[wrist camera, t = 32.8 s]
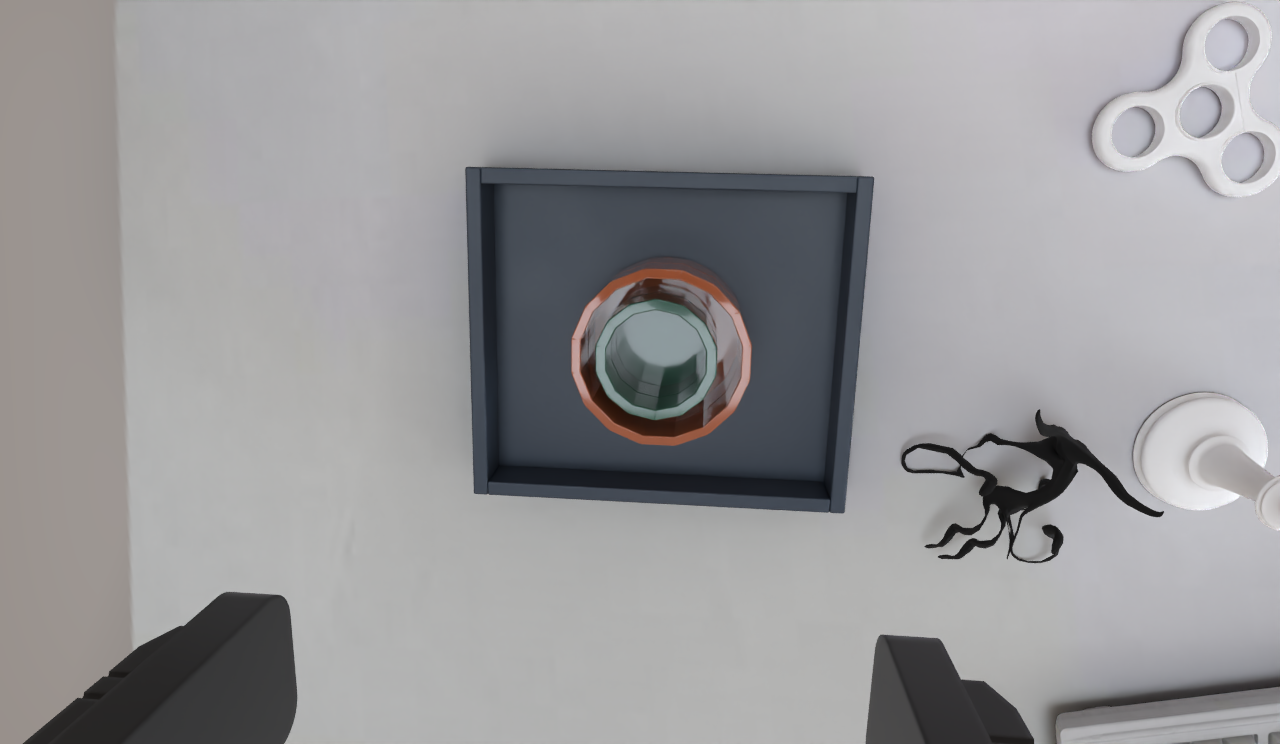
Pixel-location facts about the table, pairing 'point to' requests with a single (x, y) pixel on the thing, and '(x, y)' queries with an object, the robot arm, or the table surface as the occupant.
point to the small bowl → (657, 353)
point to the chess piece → (1207, 456)
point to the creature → (1061, 458)
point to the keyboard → (1179, 721)
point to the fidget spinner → (1233, 101)
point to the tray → (684, 228)
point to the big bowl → (730, 351)
